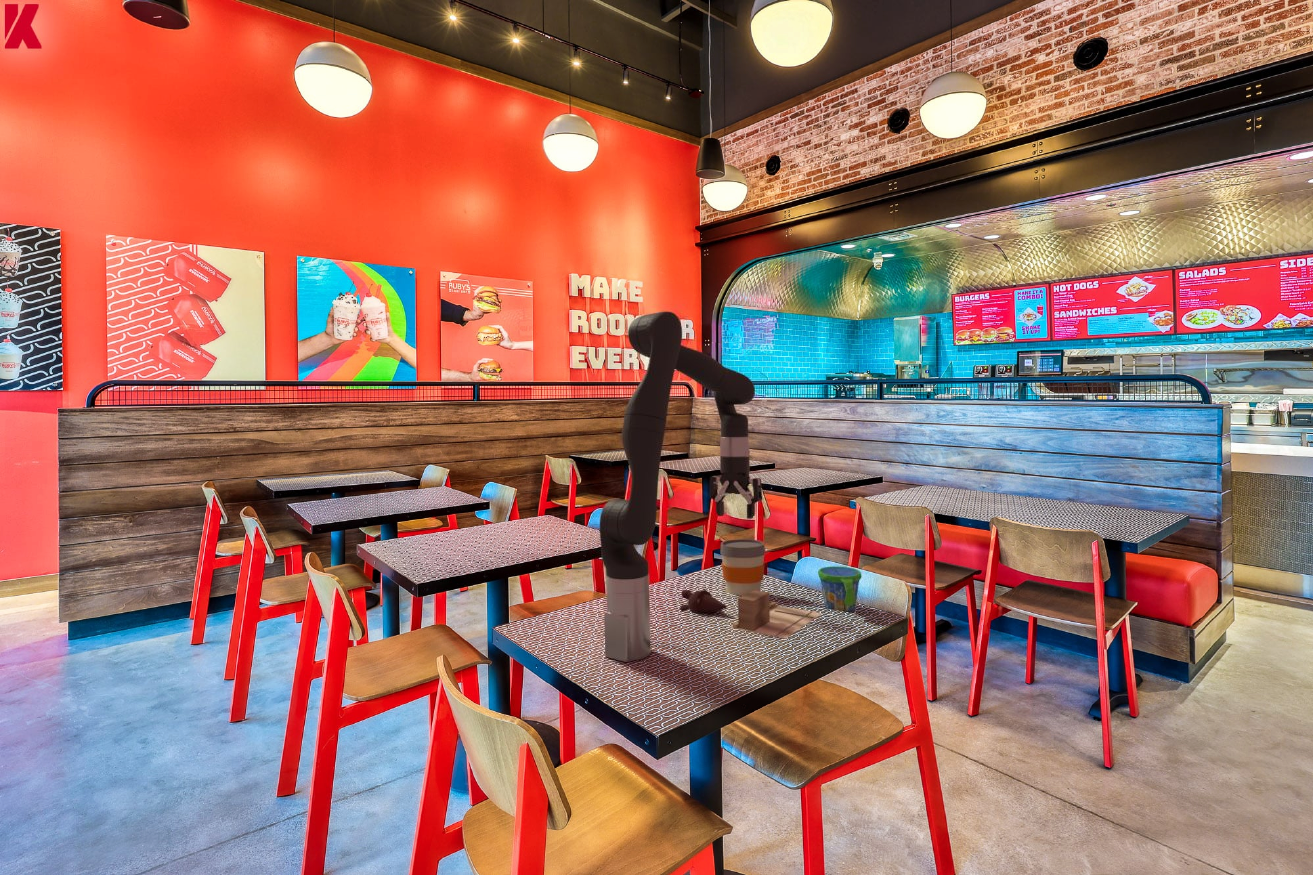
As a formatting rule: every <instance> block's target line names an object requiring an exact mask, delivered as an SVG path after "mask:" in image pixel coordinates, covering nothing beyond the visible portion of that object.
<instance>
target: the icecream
mask: <svg viewBox="0 0 1313 875" xmlns="http://www.w3.org/2000/svg"><path fill="white" fill-rule="evenodd" d="M680 595H681V597H682V598H683V599H686V600H687V603H686V604H682V605H681V606H680V607H679V610H680V611H681V612H682V613H683V612H685V611H687V610H690V611H691V612H692V613H694V614H697V615H699V614H710V613H711V614H712V613H714V612H718V611H720V610H725V609H727V605H726V604H724V603H723V602H721V601H719V600H718V599H716V598H715V597H713V596H712V594H711V592H710V591H708V590H706V589H703V590H696V591H694V592H691V589H683V590H682V591H681V594H680ZM690 611H689V612H690Z"/></svg>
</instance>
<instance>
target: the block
mask: <svg viewBox="0 0 1313 875" xmlns="http://www.w3.org/2000/svg"><path fill="white" fill-rule="evenodd" d="M769 604H770V592H769V591H762V590H760V591H757V590H753V591H751V592H749V593H747V594H745V595H743V596H740V597H738V598H737V608H738V609H737V612H738V613H737V614H738V616H737V617H738V619H737V621H738V623H739V628H741V629H746V630H751V631H755V630H757V629H758V628H760V627H762V626H763V625H765V624H767V623H768V622H770V606H769ZM741 629H740V630H741Z"/></svg>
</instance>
